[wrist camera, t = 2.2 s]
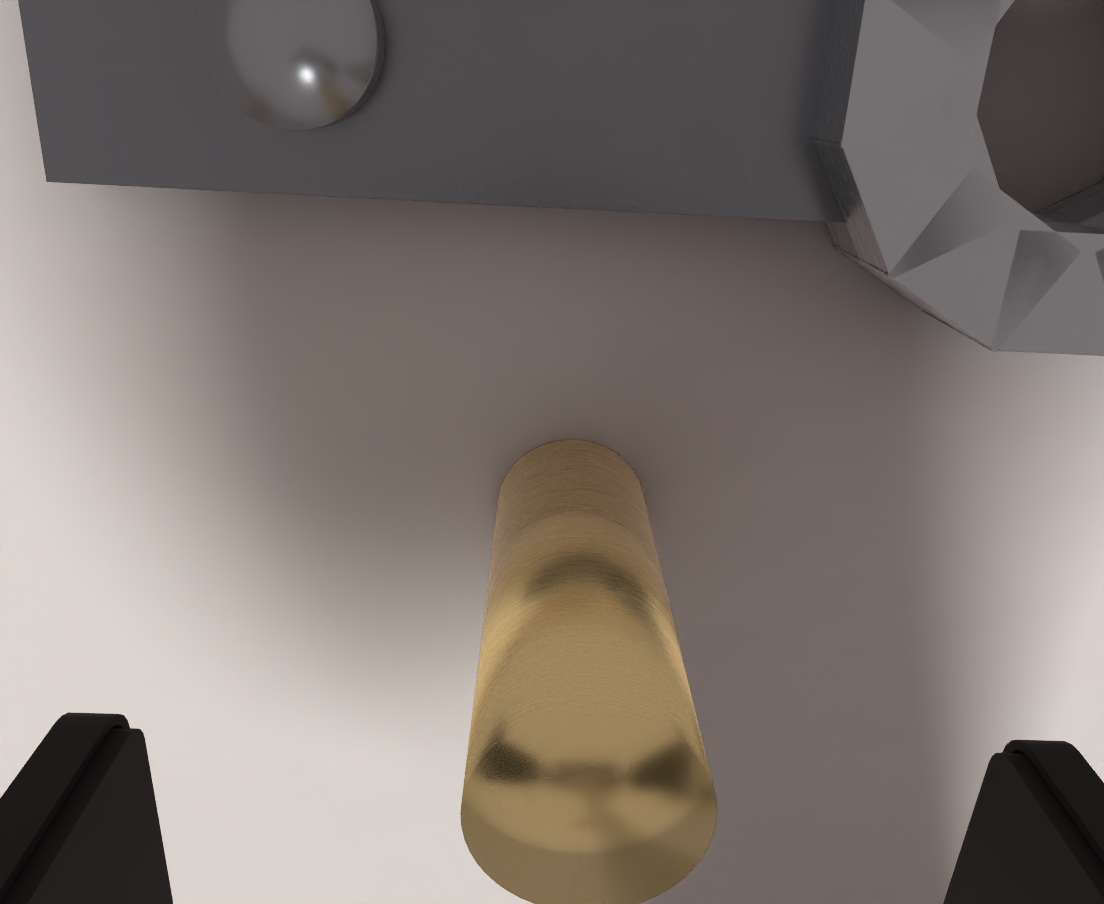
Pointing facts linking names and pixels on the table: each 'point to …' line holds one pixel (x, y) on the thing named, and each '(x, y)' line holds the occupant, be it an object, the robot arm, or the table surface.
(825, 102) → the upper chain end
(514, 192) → the lower chain end
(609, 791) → the brass pin
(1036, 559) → the table surface
